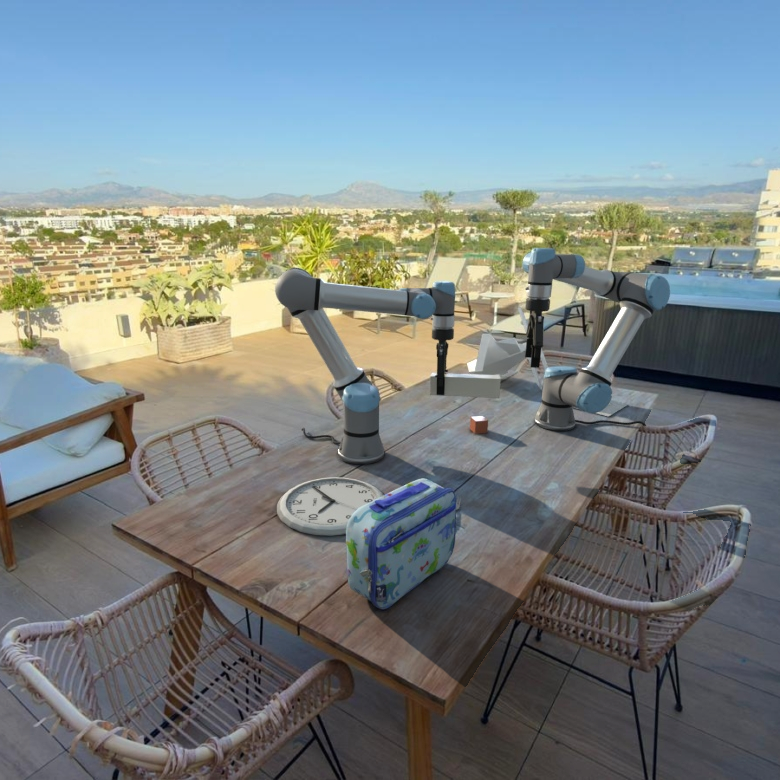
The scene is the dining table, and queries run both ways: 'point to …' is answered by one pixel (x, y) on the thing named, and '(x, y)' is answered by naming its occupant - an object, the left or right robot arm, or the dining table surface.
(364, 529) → the lunch box
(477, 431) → the terracotta block
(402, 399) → the dining table surface
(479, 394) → the plank
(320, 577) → the dining table surface
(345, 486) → the wall clock
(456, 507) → the fork
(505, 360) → the white plastic object
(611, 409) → the invitation card
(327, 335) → the left robot arm
